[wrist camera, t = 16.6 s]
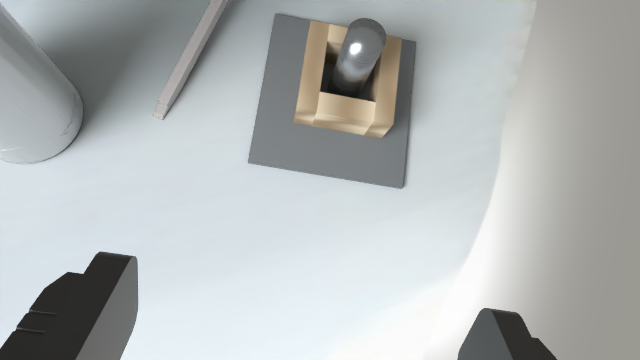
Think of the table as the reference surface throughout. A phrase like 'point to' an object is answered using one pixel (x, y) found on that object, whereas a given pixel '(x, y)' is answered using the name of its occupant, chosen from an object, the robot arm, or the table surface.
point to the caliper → (189, 57)
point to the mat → (319, 143)
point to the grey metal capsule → (357, 57)
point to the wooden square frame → (340, 109)
